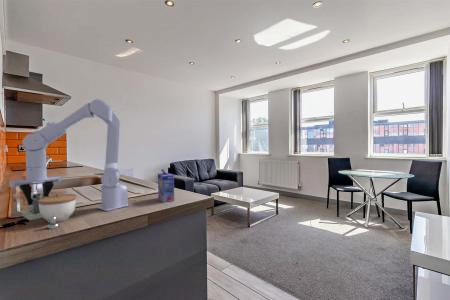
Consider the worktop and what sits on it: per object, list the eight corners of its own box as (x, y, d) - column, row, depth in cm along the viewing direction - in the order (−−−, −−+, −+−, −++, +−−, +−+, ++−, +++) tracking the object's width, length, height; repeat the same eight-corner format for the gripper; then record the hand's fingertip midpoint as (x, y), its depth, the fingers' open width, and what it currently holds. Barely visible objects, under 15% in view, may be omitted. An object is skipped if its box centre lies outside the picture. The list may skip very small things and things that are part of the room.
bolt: (56, 225, 72) (56, 214, 72) (60, 227, 70) (60, 216, 70) (45, 227, 70) (45, 217, 69) (49, 230, 68) (48, 219, 68)
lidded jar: (35, 219, 77) (35, 193, 77) (71, 212, 85) (71, 188, 85) (42, 227, 70) (41, 198, 70) (80, 218, 78) (80, 192, 78)
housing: (33, 213, 78) (33, 197, 78) (28, 209, 83) (27, 193, 82) (47, 210, 81) (47, 195, 81) (41, 206, 86) (41, 192, 86)
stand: (44, 210, 87) (44, 206, 87) (53, 214, 82) (53, 210, 82) (21, 215, 82) (21, 211, 82) (30, 220, 76) (29, 215, 76)
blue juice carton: (157, 197, 108) (157, 168, 107) (168, 196, 111) (168, 168, 110) (162, 202, 99) (162, 170, 99) (174, 200, 102) (174, 170, 102)
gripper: (11, 169, 73) (13, 209, 74) (63, 166, 85) (64, 200, 85) (7, 168, 77) (8, 206, 78) (57, 165, 89) (58, 198, 89)
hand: (37, 203), depth 82 cm, fingers closed on housing, 4 cm apart
